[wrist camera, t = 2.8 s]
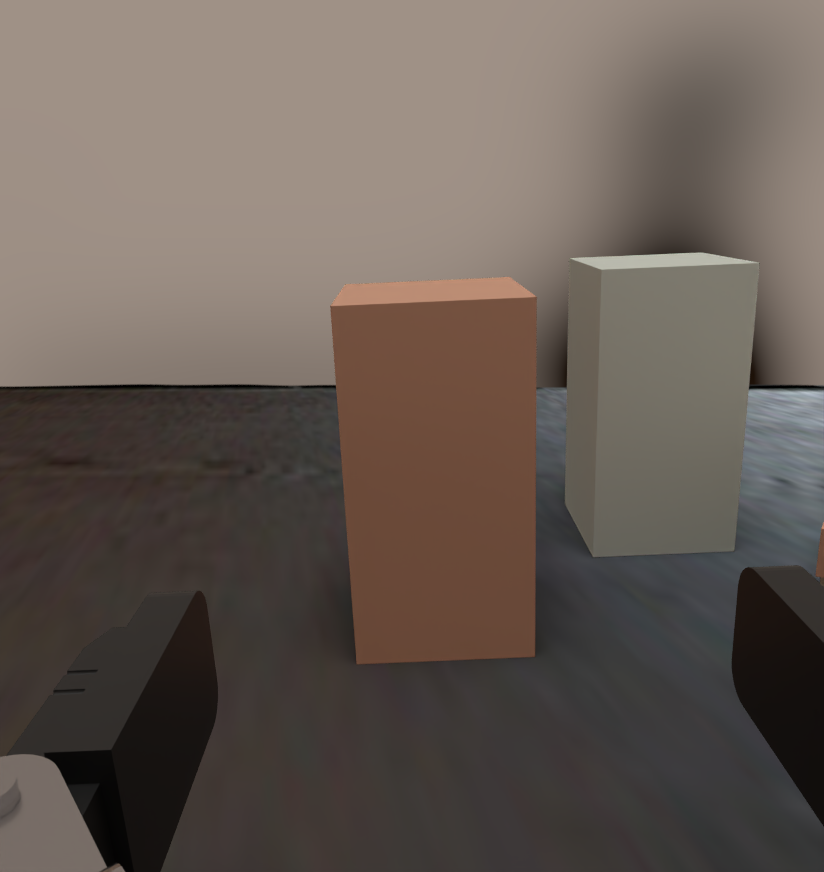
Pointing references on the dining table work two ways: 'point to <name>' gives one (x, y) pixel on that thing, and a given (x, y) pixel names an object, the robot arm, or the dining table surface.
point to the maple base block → (821, 558)
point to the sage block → (657, 400)
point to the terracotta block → (439, 466)
